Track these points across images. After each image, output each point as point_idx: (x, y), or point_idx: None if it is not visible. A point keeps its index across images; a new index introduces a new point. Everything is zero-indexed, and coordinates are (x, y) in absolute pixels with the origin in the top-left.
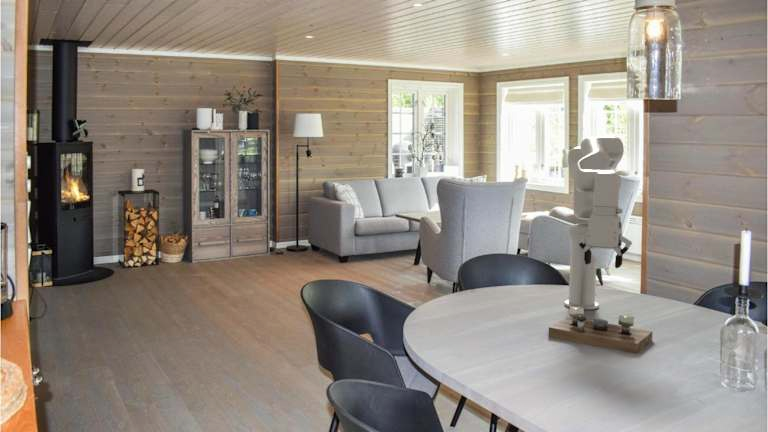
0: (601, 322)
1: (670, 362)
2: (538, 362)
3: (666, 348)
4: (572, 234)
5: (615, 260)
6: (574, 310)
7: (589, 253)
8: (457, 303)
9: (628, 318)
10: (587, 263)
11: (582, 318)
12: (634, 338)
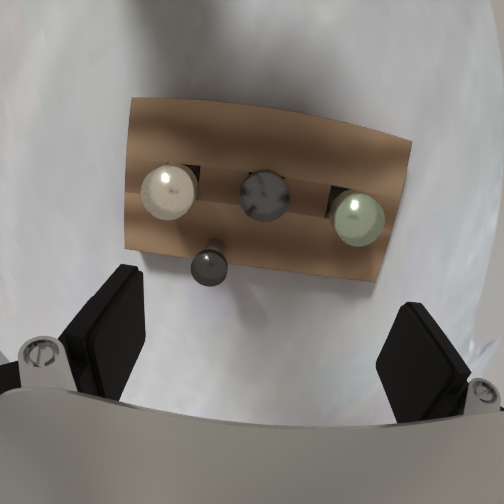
0: (271, 215)
1: (426, 288)
2: (190, 391)
3: (430, 190)
4: None
5: (391, 406)
6: (166, 219)
7: (109, 374)
8: None
9: (368, 243)
10: (143, 342)
11: (217, 284)
12: None
